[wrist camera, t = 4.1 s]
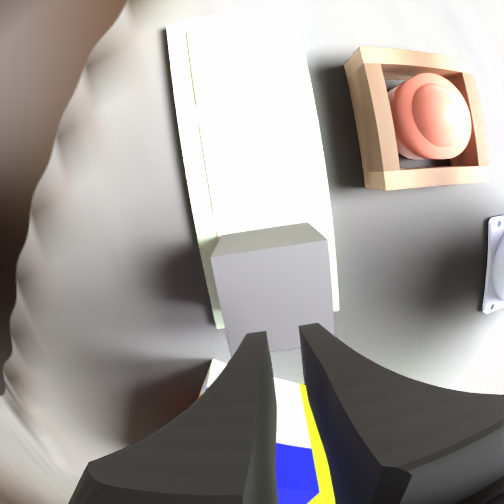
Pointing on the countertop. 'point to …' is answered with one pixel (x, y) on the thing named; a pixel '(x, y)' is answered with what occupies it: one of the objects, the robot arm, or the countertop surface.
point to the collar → (382, 128)
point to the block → (273, 283)
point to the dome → (429, 118)
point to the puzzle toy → (294, 445)
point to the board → (248, 129)
